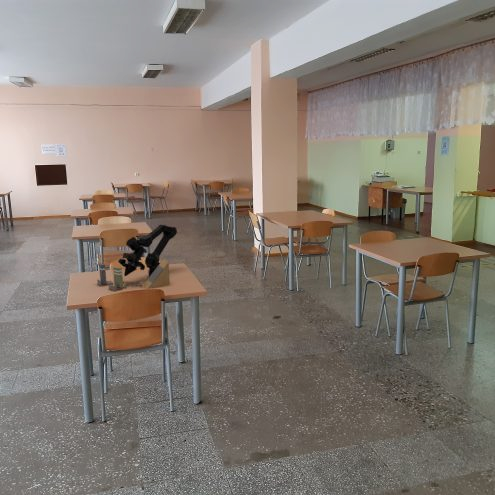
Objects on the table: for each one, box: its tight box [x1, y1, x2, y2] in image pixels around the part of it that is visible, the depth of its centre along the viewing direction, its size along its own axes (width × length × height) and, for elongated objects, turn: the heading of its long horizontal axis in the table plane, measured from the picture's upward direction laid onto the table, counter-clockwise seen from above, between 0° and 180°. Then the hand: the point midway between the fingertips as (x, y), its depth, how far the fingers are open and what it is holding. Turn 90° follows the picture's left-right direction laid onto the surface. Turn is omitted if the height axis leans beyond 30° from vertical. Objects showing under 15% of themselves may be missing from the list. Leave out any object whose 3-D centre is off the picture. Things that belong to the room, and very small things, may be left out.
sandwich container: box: [141, 259, 170, 290], centre depth 291 cm, size 9×15×15 cm, turn 123°
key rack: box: [96, 279, 127, 292], centre depth 291 cm, size 10×22×3 cm, turn 45°
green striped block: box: [112, 266, 124, 288], centre depth 286 cm, size 3×5×12 cm, turn 57°
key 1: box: [98, 262, 107, 284], centre depth 294 cm, size 3×5×12 cm, turn 31°
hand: (124, 275), depth 290 cm, fingers closed
